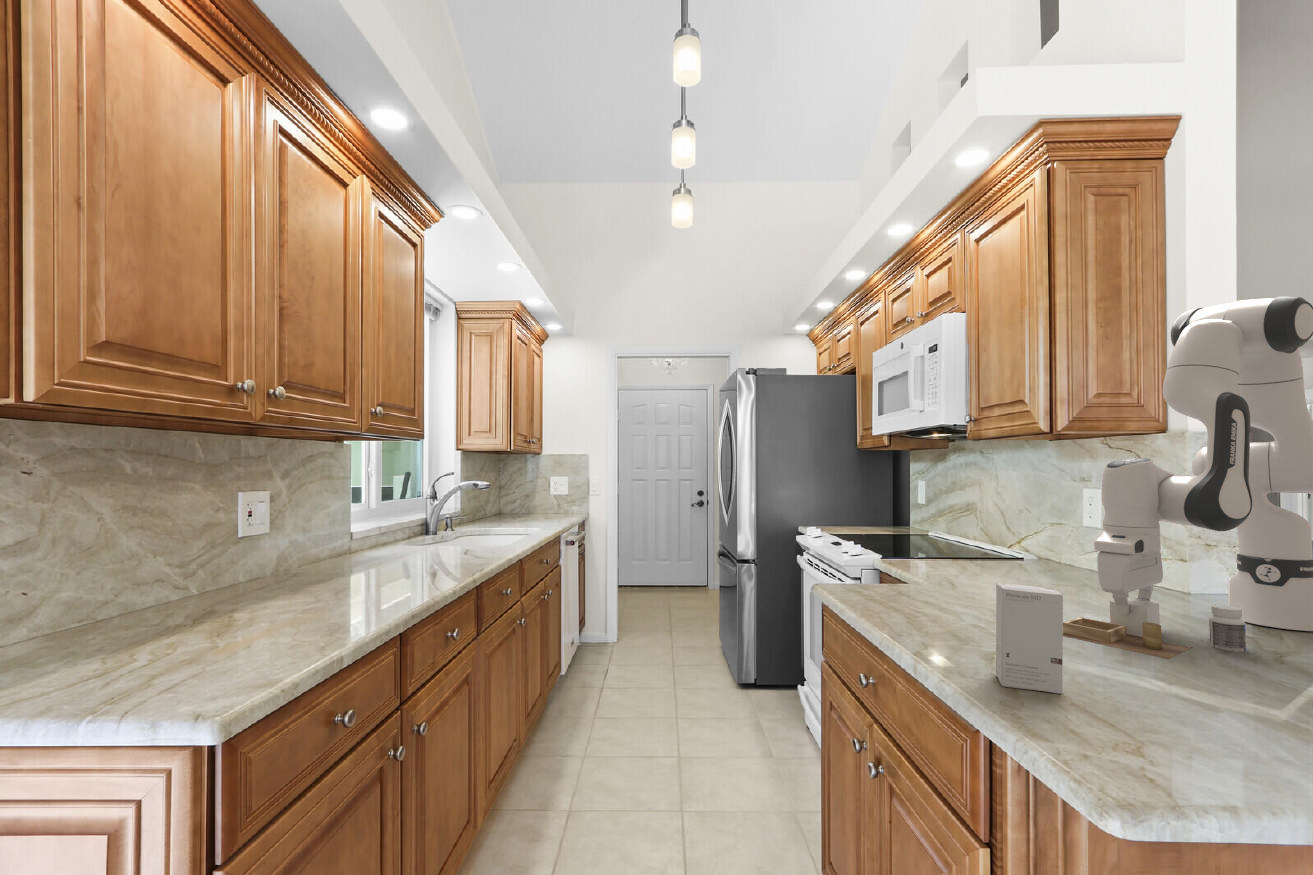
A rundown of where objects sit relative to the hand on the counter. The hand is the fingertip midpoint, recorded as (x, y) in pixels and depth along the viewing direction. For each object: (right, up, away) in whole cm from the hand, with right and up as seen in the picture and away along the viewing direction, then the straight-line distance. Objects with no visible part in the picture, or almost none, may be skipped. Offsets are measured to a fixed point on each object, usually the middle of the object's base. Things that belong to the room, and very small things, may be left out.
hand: (1133, 610), depth 118 cm
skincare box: (-37, -4, -26) cm, 45 cm away
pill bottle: (+8, -5, -11) cm, 14 cm away
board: (-7, -5, -7) cm, 11 cm away
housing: (0, -5, -1) cm, 5 cm away
